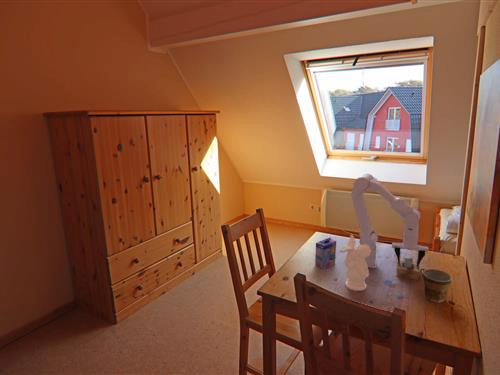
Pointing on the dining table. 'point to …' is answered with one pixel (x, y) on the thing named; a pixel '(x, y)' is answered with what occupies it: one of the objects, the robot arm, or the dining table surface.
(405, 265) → the dowel
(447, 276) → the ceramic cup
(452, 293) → the dining table surface
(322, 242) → the ink cartridge box
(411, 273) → the socket block
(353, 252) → the cherub figurine
